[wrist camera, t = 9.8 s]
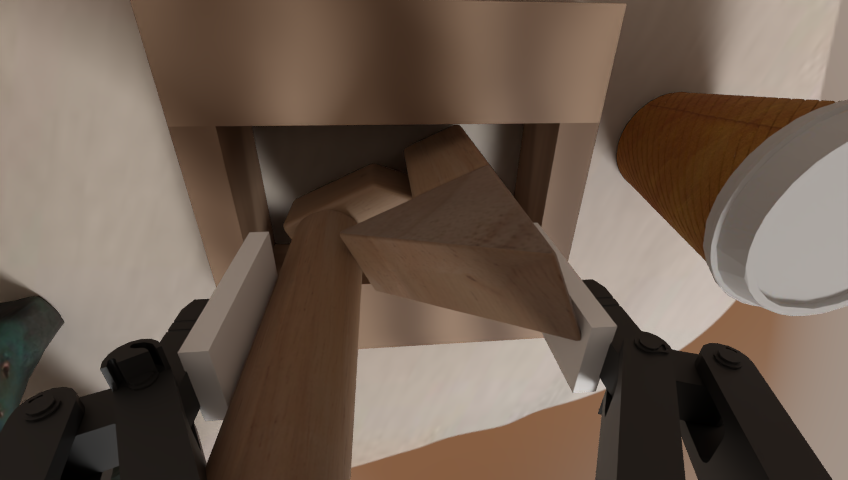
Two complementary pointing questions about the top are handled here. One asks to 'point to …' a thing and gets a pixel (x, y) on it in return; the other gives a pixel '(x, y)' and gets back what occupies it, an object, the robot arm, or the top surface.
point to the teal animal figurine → (24, 349)
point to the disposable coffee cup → (750, 191)
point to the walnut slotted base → (379, 108)
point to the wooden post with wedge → (388, 273)
